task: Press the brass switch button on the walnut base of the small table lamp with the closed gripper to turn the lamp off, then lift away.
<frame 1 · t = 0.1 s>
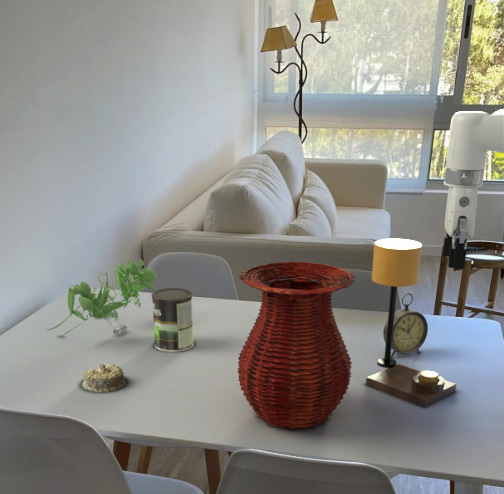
hand: (452, 261, 149), 29 cm above the table, tool pointing down, fingers open, 9 cm apart
lamp: (385, 380, 165), resting on lamp base
vase: (292, 415, 149), on the table
plant cuttings: (104, 332, 194), on the table
lamp switch: (428, 377, 156), point 4 cm above the table, slide at 0.1 cm
cake: (104, 385, 162), on the table
alarm clock: (401, 355, 180), on the table
lamp base: (410, 389, 161), on the table
coffee can: (174, 346, 185), on the table
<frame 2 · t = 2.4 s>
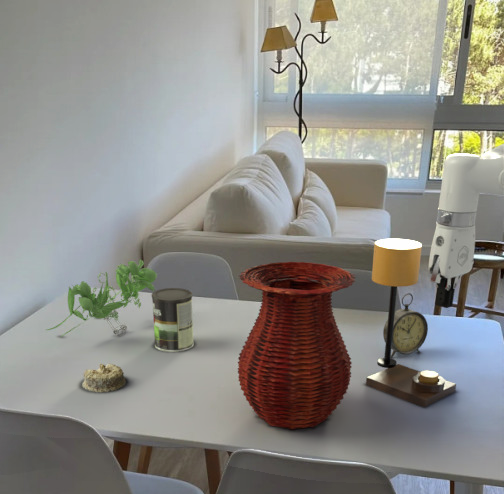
hand: (443, 305, 151), 20 cm above the table, tool pointing down, fingers closed
nothing on the table moved.
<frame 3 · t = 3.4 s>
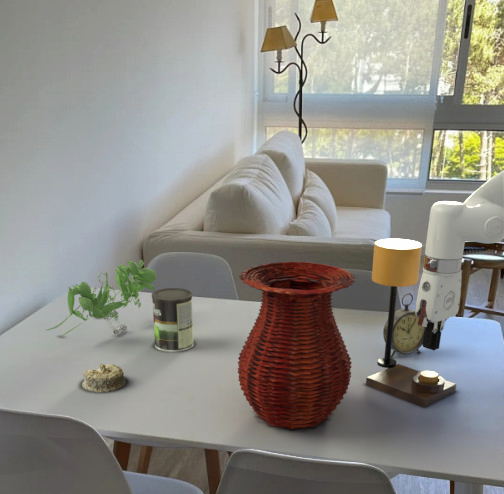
hand: (430, 347, 153), 11 cm above the table, tool pointing down, fingers closed
nothing on the table moved.
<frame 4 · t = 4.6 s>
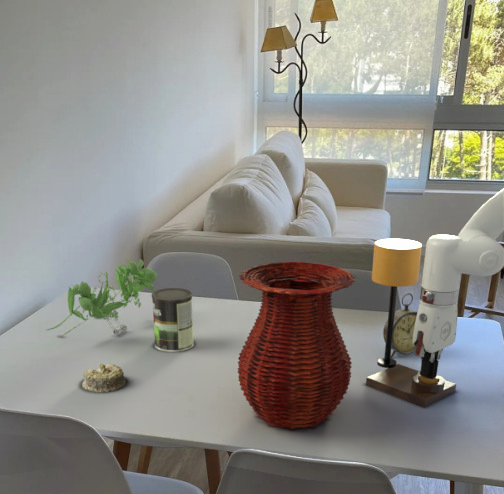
hand: (428, 376, 156), 5 cm above the table, tool pointing down, fingers closed
lamp switch: (428, 379, 156), point 4 cm above the table, slide at -0.5 cm, touching gripper
everything else where it was.
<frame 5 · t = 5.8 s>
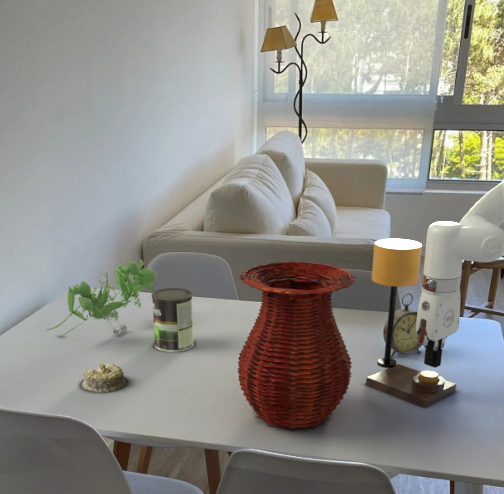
hand: (432, 364, 154), 7 cm above the table, tool pointing down, fingers closed
lamp switch: (428, 377, 156), point 4 cm above the table, slide at 0.1 cm
everything else where it was.
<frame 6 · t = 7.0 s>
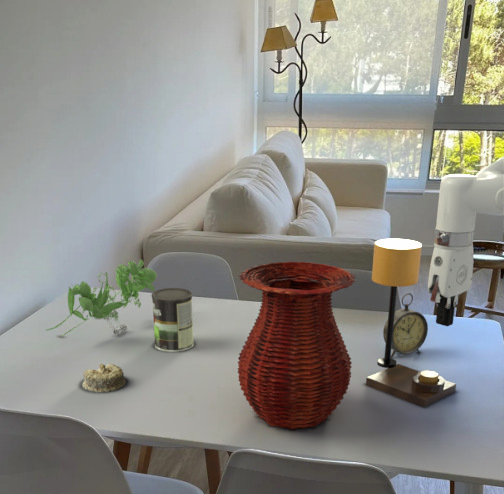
hand: (444, 323, 151), 17 cm above the table, tool pointing down, fingers closed
nothing on the table moved.
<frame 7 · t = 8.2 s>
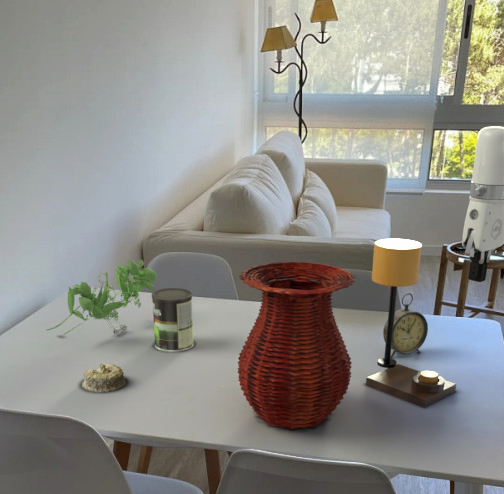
hand: (476, 280, 151), 25 cm above the table, tool pointing down, fingers closed
nothing on the table moved.
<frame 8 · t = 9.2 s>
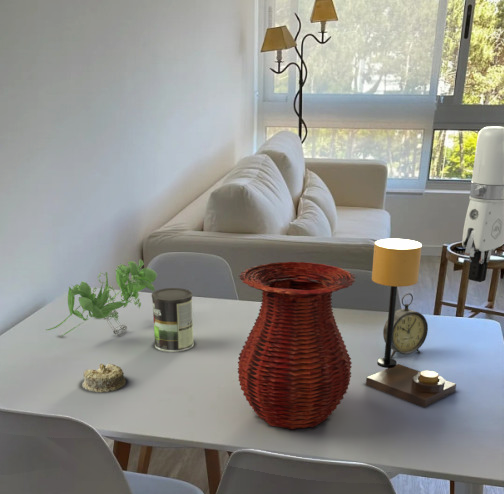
hand: (476, 280, 151), 25 cm above the table, tool pointing down, fingers closed
nothing on the table moved.
at the end: lamp switch pushed in 1.1 cm at the most during the clip, back to where it started at the end; lamp switch slide at 0.1 cm; alarm clock moved 0.2 cm from its start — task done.
